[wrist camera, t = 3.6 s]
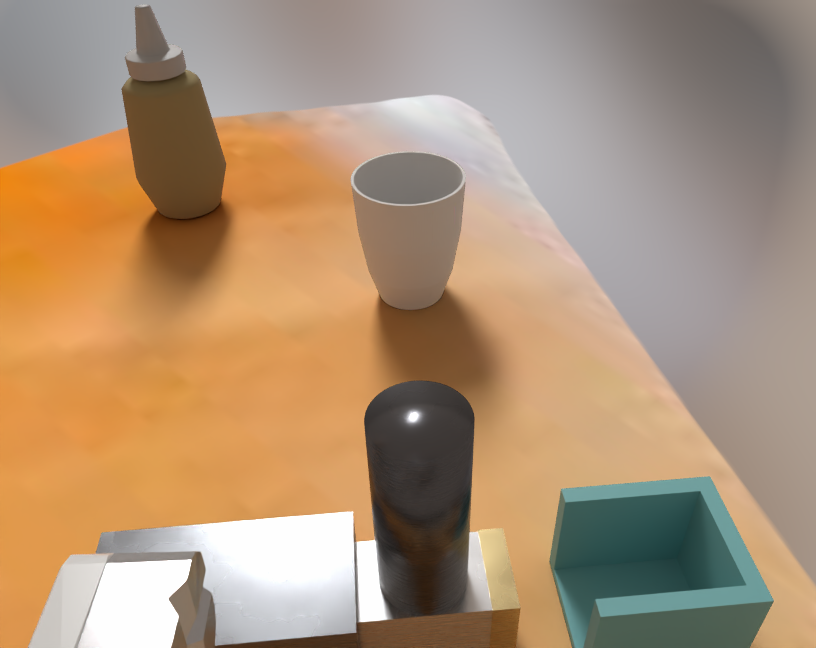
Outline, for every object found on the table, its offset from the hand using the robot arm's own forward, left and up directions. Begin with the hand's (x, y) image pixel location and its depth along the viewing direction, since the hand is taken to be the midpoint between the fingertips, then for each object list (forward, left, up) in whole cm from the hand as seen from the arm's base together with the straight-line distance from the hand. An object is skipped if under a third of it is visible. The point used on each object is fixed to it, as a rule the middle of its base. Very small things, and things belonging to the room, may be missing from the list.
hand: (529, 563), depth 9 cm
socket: (+15, +8, -26) cm, 31 cm away
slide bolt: (+1, +14, -25) cm, 29 cm away
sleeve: (-3, +16, -26) cm, 31 cm away
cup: (+19, +37, -27) cm, 50 cm away
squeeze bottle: (+8, +60, -27) cm, 66 cm away
